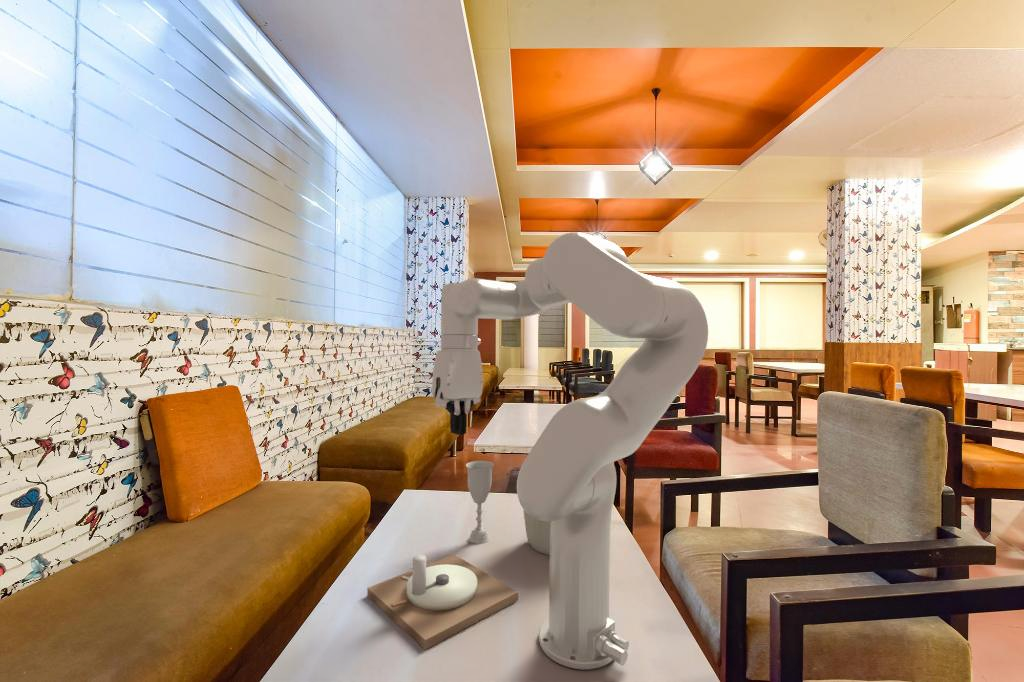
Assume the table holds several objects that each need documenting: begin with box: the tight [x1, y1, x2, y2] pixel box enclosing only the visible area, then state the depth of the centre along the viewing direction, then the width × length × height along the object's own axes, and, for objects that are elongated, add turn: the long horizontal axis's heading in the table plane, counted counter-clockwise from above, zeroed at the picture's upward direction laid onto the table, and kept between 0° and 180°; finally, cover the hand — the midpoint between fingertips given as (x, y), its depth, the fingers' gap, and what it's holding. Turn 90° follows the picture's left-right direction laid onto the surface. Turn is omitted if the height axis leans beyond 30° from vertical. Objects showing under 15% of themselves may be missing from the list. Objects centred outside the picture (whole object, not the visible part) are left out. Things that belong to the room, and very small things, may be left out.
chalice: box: [465, 460, 495, 545], centre depth 110 cm, size 7×7×18 cm
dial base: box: [366, 553, 519, 650], centre depth 85 cm, size 20×20×2 cm
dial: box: [407, 554, 477, 610], centre depth 85 cm, size 13×13×8 cm
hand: (458, 433), depth 93 cm, fingers closed
